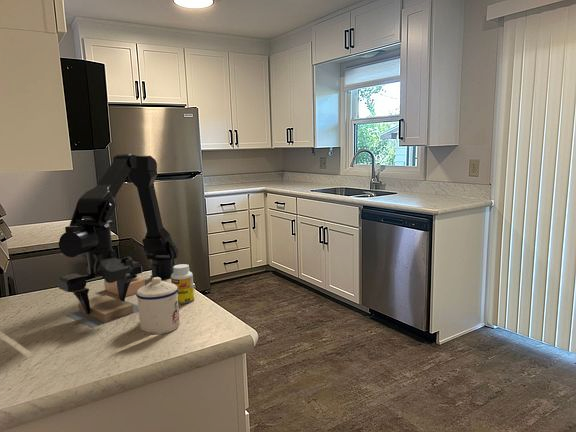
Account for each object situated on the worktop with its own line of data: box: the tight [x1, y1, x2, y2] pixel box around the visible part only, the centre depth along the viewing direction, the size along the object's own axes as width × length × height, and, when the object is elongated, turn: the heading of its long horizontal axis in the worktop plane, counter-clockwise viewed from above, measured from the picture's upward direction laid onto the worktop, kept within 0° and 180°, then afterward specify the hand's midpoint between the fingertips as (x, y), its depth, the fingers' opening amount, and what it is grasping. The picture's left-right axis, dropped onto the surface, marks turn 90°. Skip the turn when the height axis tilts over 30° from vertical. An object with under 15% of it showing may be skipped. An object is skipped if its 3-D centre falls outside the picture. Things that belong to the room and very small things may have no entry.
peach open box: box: [103, 276, 146, 298], centre depth 121 cm, size 6×11×4 cm, turn 51°
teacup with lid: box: [135, 277, 181, 336], centre depth 96 cm, size 12×9×12 cm
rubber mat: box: [64, 297, 139, 329], centre depth 105 cm, size 14×14×1 cm
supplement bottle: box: [170, 263, 195, 306], centre depth 110 cm, size 6×6×10 cm
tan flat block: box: [78, 294, 135, 323], centre depth 105 cm, size 7×13×2 cm, turn 51°
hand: (105, 308), depth 105 cm, fingers open, 8 cm apart
